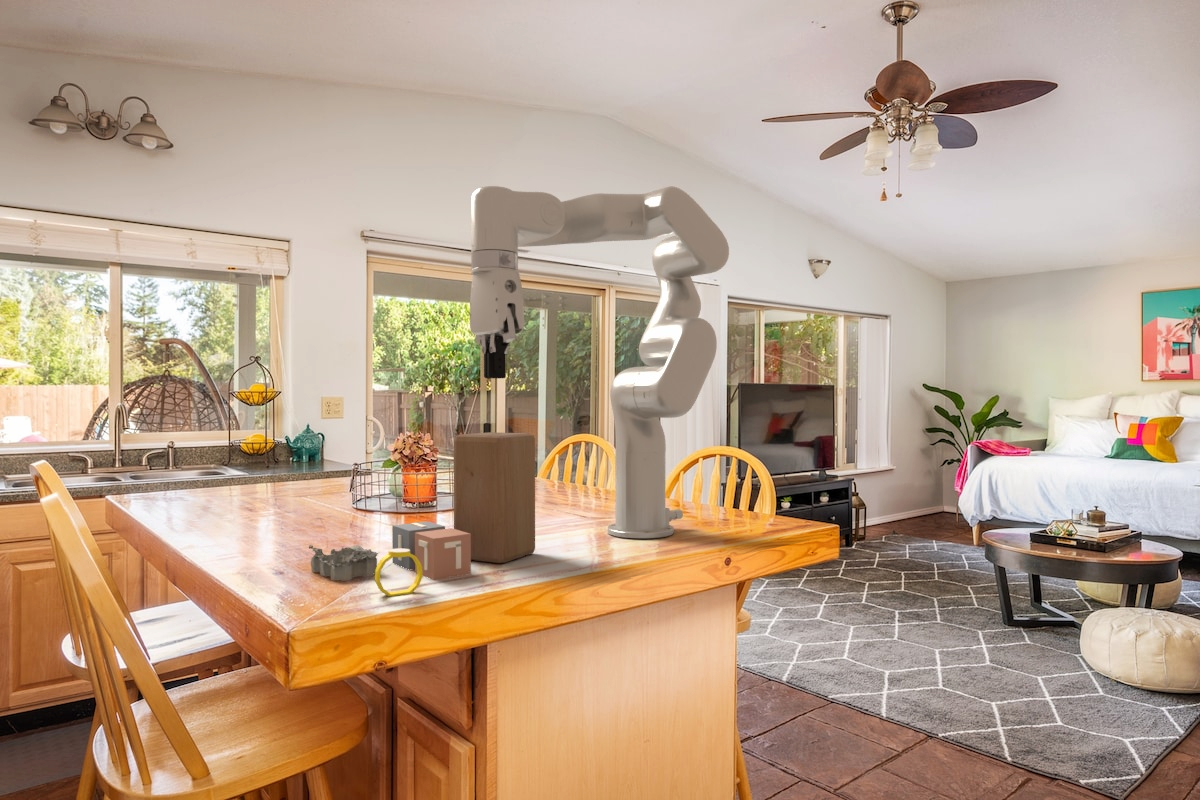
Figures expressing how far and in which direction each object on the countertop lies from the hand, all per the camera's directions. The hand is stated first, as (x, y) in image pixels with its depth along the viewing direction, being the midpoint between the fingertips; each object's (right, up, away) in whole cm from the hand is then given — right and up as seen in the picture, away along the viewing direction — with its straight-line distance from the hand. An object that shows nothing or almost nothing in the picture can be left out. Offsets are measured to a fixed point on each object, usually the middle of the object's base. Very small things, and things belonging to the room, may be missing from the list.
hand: (494, 377), depth 122 cm
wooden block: (0, -29, 0) cm, 29 cm away
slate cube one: (-11, -29, -5) cm, 32 cm away
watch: (-10, -30, -23) cm, 39 cm away
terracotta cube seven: (-6, -29, -11) cm, 32 cm away
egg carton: (-21, -30, -10) cm, 38 cm away
